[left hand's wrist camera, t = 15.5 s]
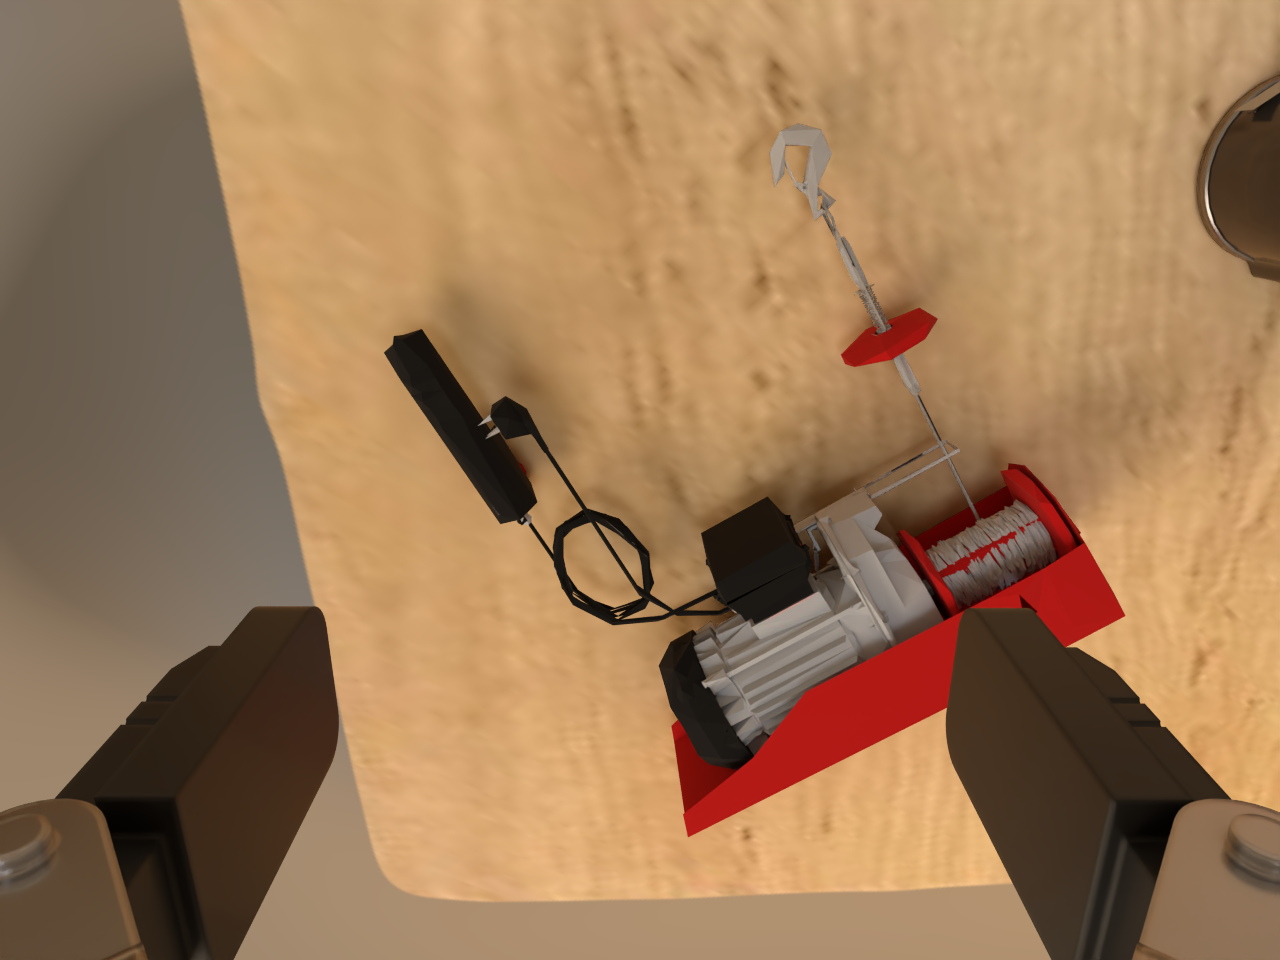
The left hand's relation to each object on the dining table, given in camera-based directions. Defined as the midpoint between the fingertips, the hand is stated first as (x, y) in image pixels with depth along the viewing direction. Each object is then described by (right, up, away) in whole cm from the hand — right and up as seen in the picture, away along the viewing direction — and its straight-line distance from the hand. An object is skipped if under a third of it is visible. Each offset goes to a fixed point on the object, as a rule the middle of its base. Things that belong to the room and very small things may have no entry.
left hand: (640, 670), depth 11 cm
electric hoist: (+6, +5, +40) cm, 40 cm away
